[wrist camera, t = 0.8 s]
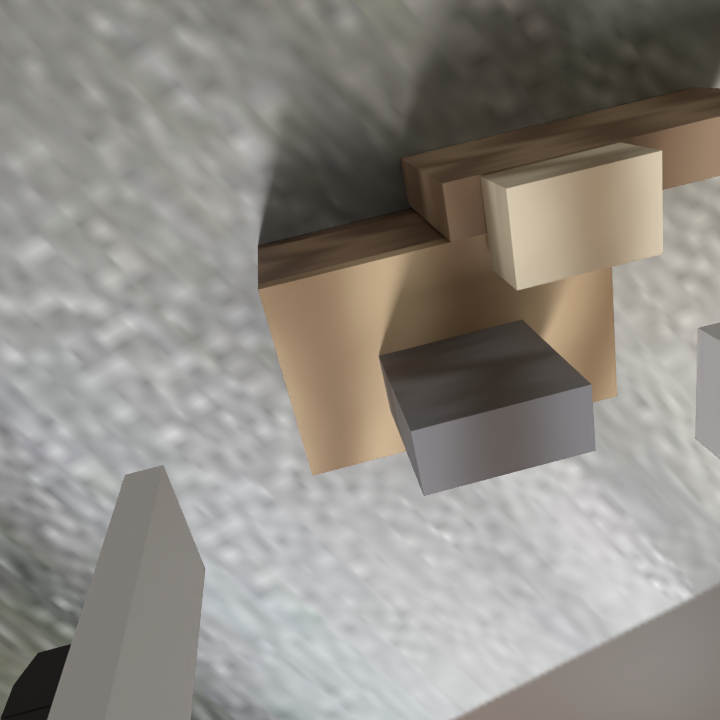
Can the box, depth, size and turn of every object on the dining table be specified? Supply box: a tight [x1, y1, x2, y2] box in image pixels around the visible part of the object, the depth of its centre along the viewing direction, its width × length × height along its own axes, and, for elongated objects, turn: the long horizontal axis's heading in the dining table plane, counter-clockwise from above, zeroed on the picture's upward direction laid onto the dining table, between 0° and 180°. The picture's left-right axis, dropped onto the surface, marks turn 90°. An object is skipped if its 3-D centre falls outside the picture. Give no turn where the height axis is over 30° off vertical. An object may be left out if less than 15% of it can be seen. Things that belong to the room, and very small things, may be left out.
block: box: [480, 143, 663, 290], centre depth 26 cm, size 6×4×3 cm, turn 103°
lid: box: [258, 233, 617, 496], centre depth 28 cm, size 16×10×8 cm, turn 103°
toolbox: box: [258, 88, 720, 284], centre depth 32 cm, size 26×13×12 cm, turn 103°
